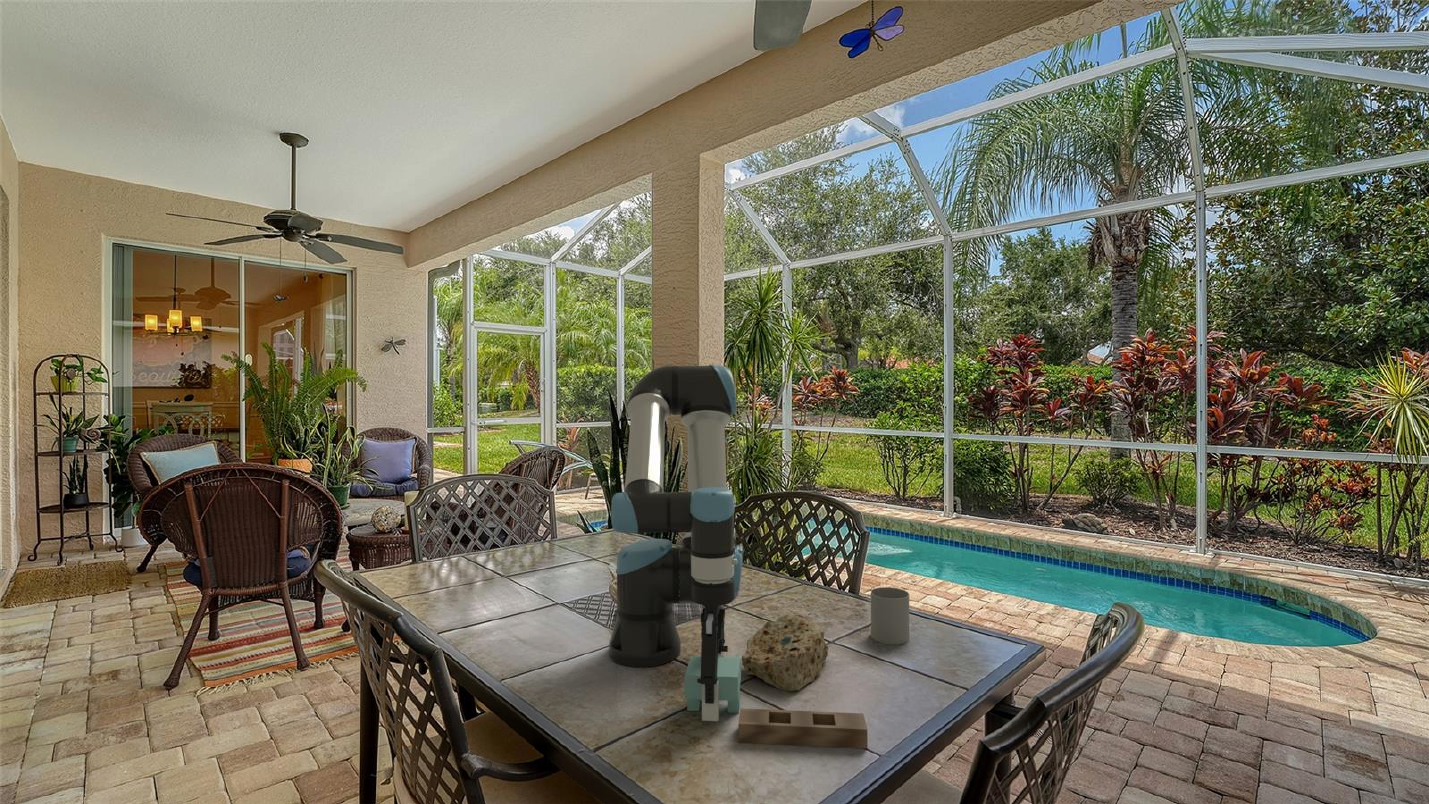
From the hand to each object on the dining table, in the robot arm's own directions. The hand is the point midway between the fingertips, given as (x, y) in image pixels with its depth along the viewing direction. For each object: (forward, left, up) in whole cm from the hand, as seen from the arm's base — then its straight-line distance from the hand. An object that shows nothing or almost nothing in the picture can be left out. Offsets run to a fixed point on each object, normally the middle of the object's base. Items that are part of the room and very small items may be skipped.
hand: (713, 703), depth 114 cm
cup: (+36, +36, -1) cm, 51 cm away
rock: (+13, +18, -1) cm, 22 cm away
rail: (+15, -8, -1) cm, 17 cm away
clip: (0, 0, -1) cm, 1 cm away
